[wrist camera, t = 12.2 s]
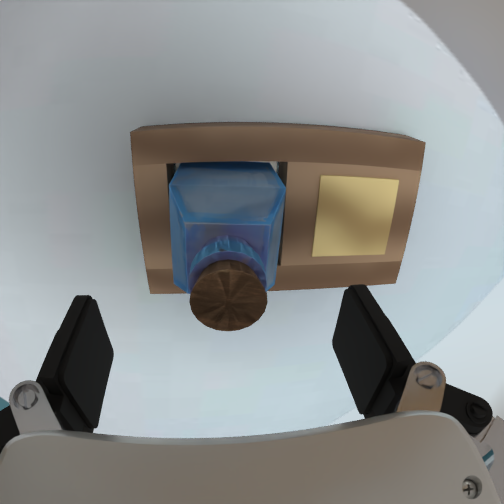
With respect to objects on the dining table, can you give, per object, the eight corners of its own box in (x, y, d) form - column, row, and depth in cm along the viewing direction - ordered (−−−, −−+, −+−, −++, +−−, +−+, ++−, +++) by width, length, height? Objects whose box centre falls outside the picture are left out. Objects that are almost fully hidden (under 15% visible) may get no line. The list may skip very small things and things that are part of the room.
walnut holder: (141, 126, 20) (129, 132, 17) (405, 135, 22) (426, 143, 19) (156, 272, 26) (149, 295, 23) (381, 265, 28) (396, 284, 25)
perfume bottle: (183, 238, 24) (161, 353, 14) (182, 160, 21) (145, 231, 11) (262, 240, 25) (292, 352, 15) (269, 162, 22) (315, 235, 12)
